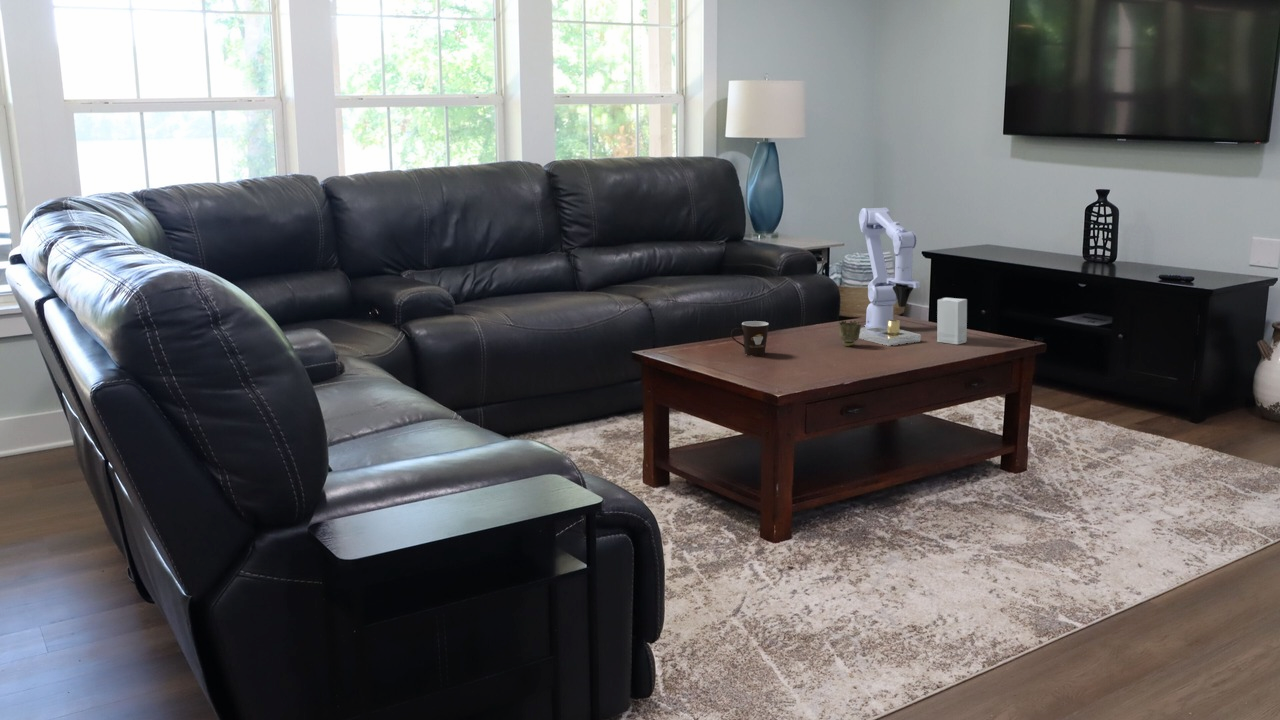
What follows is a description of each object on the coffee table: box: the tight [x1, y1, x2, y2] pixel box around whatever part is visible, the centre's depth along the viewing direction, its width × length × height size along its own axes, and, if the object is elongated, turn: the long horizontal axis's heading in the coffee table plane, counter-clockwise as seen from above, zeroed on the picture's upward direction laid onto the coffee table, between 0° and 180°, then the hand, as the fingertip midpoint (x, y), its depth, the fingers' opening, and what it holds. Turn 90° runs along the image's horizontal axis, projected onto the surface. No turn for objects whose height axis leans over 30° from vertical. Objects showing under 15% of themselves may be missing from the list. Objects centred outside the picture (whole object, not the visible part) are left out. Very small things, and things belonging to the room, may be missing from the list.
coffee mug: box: [730, 320, 769, 357], centre depth 353 cm, size 12×9×10 cm
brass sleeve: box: [887, 319, 901, 336], centre depth 371 cm, size 4×4×7 cm
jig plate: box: [858, 325, 922, 347], centre depth 375 cm, size 20×14×2 cm
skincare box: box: [936, 297, 968, 345], centre depth 367 cm, size 8×6×15 cm
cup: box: [838, 320, 862, 348], centre depth 364 cm, size 8×7×8 cm
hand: (902, 306), depth 377 cm, fingers closed
